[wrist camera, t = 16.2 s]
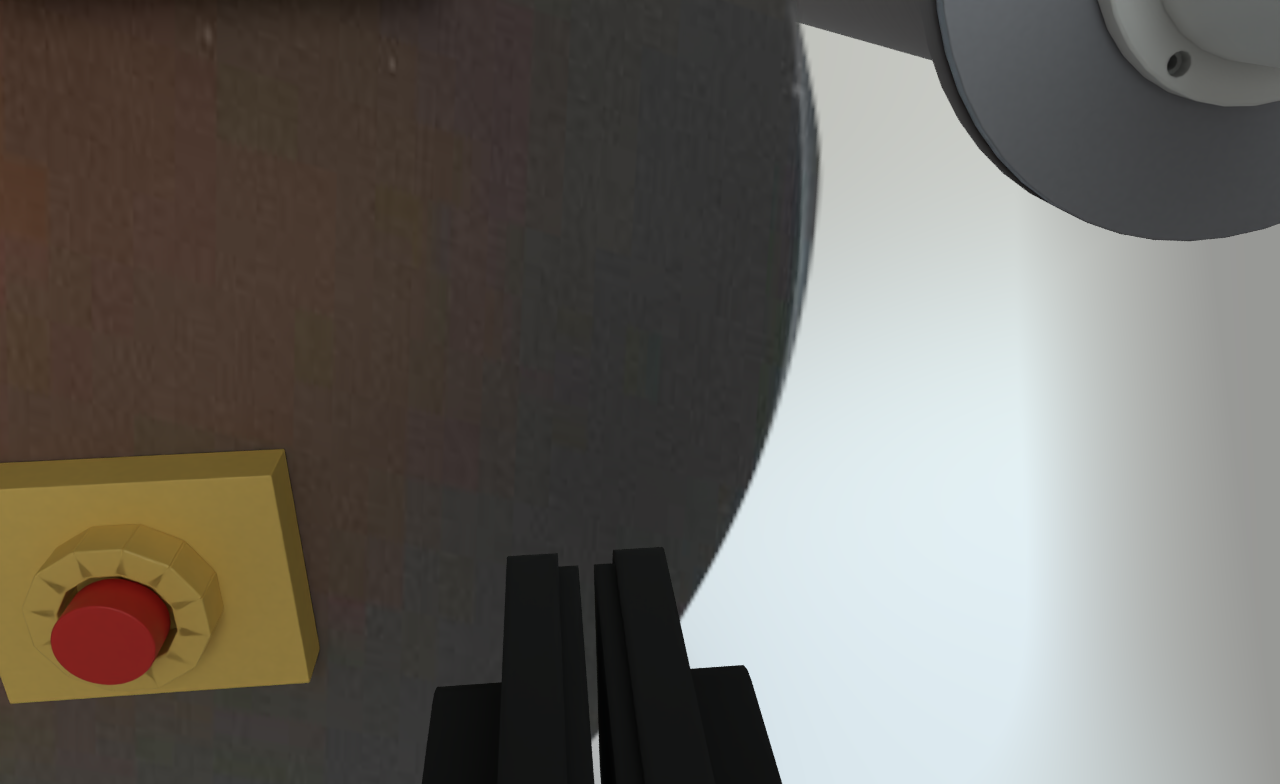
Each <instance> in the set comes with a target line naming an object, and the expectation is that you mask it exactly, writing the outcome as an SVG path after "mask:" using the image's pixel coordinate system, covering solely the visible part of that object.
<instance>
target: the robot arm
mask: <svg viewBox="0 0 1280 784" xmlns="http://www.w3.org/2000/svg"><path fill="white" fill-rule="evenodd" d="M1098 3H1099V6H1100V9H1101V12H1102V15H1103V18H1104V21H1105V24H1106V27H1107V30H1108V31H1109V33H1110V35H1111V36H1112V38H1113V40H1114V41H1115V43H1116V45H1117V46H1118V48H1119V50H1120V51H1121V53H1122V55H1123V56H1124V57H1125V58H1126V59H1127V60H1128V61H1129V62H1130V63H1131V64H1132V66H1133V67H1134V68H1135V69H1136V70H1137V71H1138V72H1139V73H1140V74H1141V75H1142V76H1143V77H1144V78H1146V79H1148V80H1149V81H1151V82H1152V83H1154V84H1156V85H1157V86H1159V87H1161V88H1162V89H1164V90H1165V91H1167V92H1169V93H1172V94H1175V95H1178V96H1181V97H1184V98H1187V99H1190V100H1193V101H1197V102H1203V103H1208V104H1214V105H1219V106H1224V107H1226V106H1257V105H1262V104H1266V103H1271V102H1275V101H1280V0H1098ZM1169 59H1170V62H1169V64H1168V65H1167V63H1168V61H1169ZM594 586H595V620H596V654H597V689H598V723H599V755H600V774H601V784H782V782H781V778H780V775H779V772H778V768H777V765H776V762H775V758H774V755H773V751H772V748H771V745H770V741H769V738H768V735H767V731H766V728H765V725H764V722H763V718H762V715H761V711H760V708H759V704H758V701H757V698H756V694H755V691H754V688H753V685H752V681H751V678H750V676H749V673H748V670H747V669H746V668H745V666H744V665H738V666H724V667H711V668H697V669H690V666H689V661H688V657H687V652H686V647H685V644H684V638H683V634H682V629H681V624H680V620H679V615H678V611H677V606H676V602H675V597H674V592H673V588H672V583H671V579H670V574H669V569H668V565H667V560H666V556H665V552H664V548H663V547H655V548H638V549H622V550H613V564H597V565H594ZM422 784H594V773H593V759H592V746H591V732H590V719H589V705H588V691H587V678H586V664H585V650H584V637H583V623H582V610H581V596H580V582H579V569H578V566H565V567H558V553H555V554H539V555H522V556H508V557H507V569H506V592H505V616H504V640H503V663H502V682H501V683H487V684H473V685H459V686H446V687H437V688H436V690H435V693H434V698H433V704H432V711H431V719H430V726H429V734H428V741H427V749H426V756H425V764H424V771H423V779H422Z"/></svg>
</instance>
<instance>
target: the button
mask: <svg viewBox="0 0 1280 784" xmlns="http://www.w3.org/2000/svg"><path fill="white" fill-rule="evenodd" d="M170 625H171V620H170V614H169V611H168V609H167V607H166V605H165V603H164V602H163V601H162V599H161V598H160V597H159V596H158V595H157V594H156V593H154V592H153V591H152V590H150V589H149V588H147V587H145V586H143V585H141V584H139V583H136V582H133V581H129V580H124V579H104V580H100V581H96V582H93V583H91V584H89V585H87V586H85V587H84V588H82V589H81V590H80V591H79V592H78V593H77V594H76V595H75V596H74V598H73V599H72V601H71V602H70V604H69V605H68V606H67V608H66V609H65V611H64V612H63V613H62V615H61V616H60V618H59V619H58V620H57V622H56V623H55V625H54V627H53V629H52V632H51V648H52V651H53V654H54V656H55V657H56V659H57V661H58V662H59V663H60V664H61V665H62V666H63V667H64V668H65V669H66V670H67V671H68V672H70V673H71V674H73V675H74V676H76V677H78V678H80V679H82V680H85V681H88V682H91V683H95V684H102V685H117V684H123V683H127V682H130V681H133V680H135V679H137V678H139V677H140V676H142V675H143V674H144V673H146V672H147V671H148V670H149V668H150V667H151V666H152V664H153V662H154V660H155V658H156V656H157V655H158V653H159V651H160V649H161V647H162V645H163V643H164V641H165V639H166V638H167V636H168V633H169V631H170Z"/></svg>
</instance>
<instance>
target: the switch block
mask: <svg viewBox="0 0 1280 784" xmlns="http://www.w3.org/2000/svg"><path fill="white" fill-rule="evenodd" d="M104 579H124V580H129V581H133V582H136V583H139V584H141V585H143V586H145V587H147V588H149V589H150V590H152V591H153V592H154V593H156V594H157V595H158V596H159V597H160V598H161V599H162V601H163V602H164V603H165V605H166V607H167V609H168V611H169V614H170V620H171V625H170V631H169V633H168V636H167V638H166V639H165V641H164V643H163V645H162V647H161V649H160V651H159V653H158V655H157V656H156V658H155V660H154V662H153V664H152V666H151V667H150V668H149V670H148V671H147V672H146V673H144V674H143V675H142V676H140V677H139V678H137V679H135V680H133V681H130V682H127V683H123V684H117V685H102V684H95V683H91V682H88V681H85V680H82V679H80V678H78V677H76V676H74V675H73V674H71V673H70V672H68V671H67V670H66V669H65V668H64V667H63V666H62V665H61V664H60V663H59V662H58V661H57V659H56V657H55V656H54V654H53V651H52V648H51V632H52V629H53V627H54V625H55V623H56V622H57V620H58V619H59V618H60V616H61V615H62V613H63V612H64V611H65V609H66V608H67V606H68V605H69V604H70V602H71V601H72V599H73V598H74V596H75V595H76V594H77V593H78V592H79V591H80V590H81V589H82V588H84V587H85V586H87V585H89V584H91V583H93V582H96V581H100V580H104ZM319 650H320V647H319V641H318V636H317V630H316V625H315V619H314V613H313V608H312V602H311V596H310V591H309V585H308V580H307V574H306V568H305V563H304V557H303V551H302V546H301V540H300V534H299V529H298V523H297V518H296V512H295V506H294V501H293V495H292V489H291V484H290V478H289V472H288V467H287V461H286V456H285V450H284V449H274V450H254V451H234V452H214V453H194V454H174V455H153V456H133V457H113V458H93V459H73V460H53V461H33V462H12V463H0V676H1V679H2V682H3V685H4V687H5V690H6V693H7V696H8V699H9V702H10V703H11V704H12V703H27V702H41V701H55V700H69V699H83V698H98V697H112V696H126V695H140V694H154V693H168V692H183V691H197V690H211V689H225V688H239V687H253V686H268V685H282V684H296V683H309V682H310V679H311V676H312V673H313V670H314V666H315V663H316V660H317V656H318V653H319Z"/></svg>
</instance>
